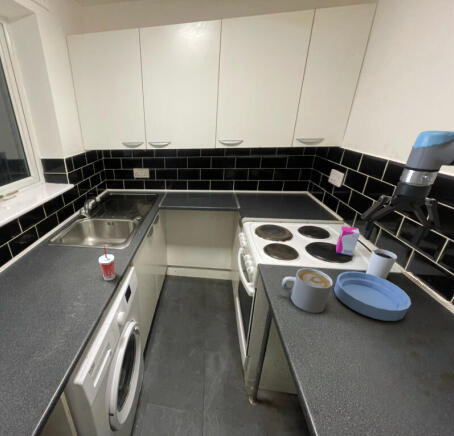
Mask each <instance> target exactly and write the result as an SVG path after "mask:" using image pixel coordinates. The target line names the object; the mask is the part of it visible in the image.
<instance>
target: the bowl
mask: <svg viewBox="0 0 454 436" xmlns="http://www.w3.org/2000/svg"><path fill="white" fill-rule="evenodd" d="M333 286H334V287H333V292H334V294H335V296H336V297H337V298H338V300H340V302H342V304H344V305H346V306H347V307H348V308H350V309H352V310H353V311H355V312H357V313H359V314H361V315H363V316H366V317H369V318H371V319H376V320H380V321H385V322H397V321H400V320H402V319H404V317H405V316H406V315H407V313H408V311H409V309H410V307H411V305H412V302H411V298H410V296H409V294H407V292H406V291H404V290H403V289H402V288H400V287H399V286H398V285H396V284H394V283H393V282H391V281H390V280H388V279H386V280H385V279H382V278H380V277H378V276H375V275H371V274H367V273H366V272H363V271H344V272H341V273H339V274H338V276H337V278H336V280H335V283H334V285H333Z"/></svg>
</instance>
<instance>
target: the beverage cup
mask: <svg viewBox="0 0 454 436" xmlns="http://www.w3.org/2000/svg"><path fill="white" fill-rule="evenodd" d="M103 251H104V255H101V256H100V257H99V258H98V263H99V265H100V269H101V272H102V277H103V279H104V281H106V282H107V281H112V280H114V279H115V278H116V269H115V267H116V266H115V256H114V255H113V254H110V253H109V254H108V253H107V250H106V247H103Z"/></svg>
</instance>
